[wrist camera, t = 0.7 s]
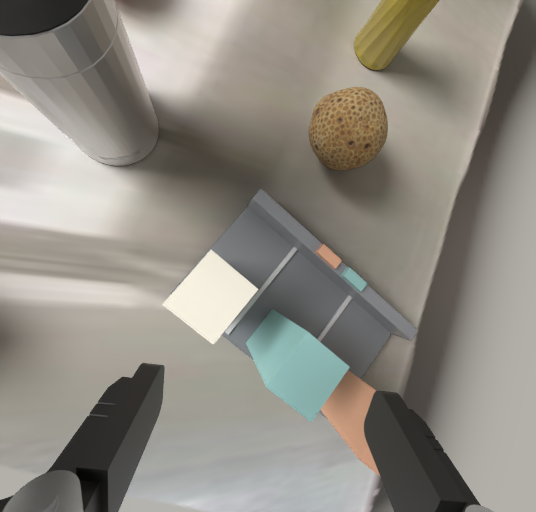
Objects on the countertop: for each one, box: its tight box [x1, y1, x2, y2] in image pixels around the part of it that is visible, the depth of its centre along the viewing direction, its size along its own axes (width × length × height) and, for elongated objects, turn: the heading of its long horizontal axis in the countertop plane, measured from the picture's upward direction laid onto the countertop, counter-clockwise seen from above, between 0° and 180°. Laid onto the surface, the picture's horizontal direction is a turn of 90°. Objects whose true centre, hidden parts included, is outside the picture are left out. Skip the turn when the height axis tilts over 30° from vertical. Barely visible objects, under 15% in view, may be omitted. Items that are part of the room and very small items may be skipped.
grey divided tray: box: [171, 189, 418, 418], centre depth 31 cm, size 15×25×6 cm, turn 50°
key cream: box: [162, 250, 258, 345], centre depth 25 cm, size 5×4×12 cm
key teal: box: [246, 309, 350, 422], centre depth 26 cm, size 5×4×12 cm
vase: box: [354, 0, 439, 70], centre depth 31 cm, size 6×6×14 cm
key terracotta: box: [320, 370, 380, 476], centre depth 27 cm, size 5×4×12 cm
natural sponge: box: [309, 87, 388, 170], centre depth 31 cm, size 9×9×10 cm
